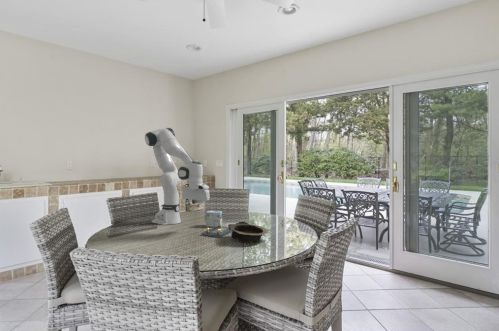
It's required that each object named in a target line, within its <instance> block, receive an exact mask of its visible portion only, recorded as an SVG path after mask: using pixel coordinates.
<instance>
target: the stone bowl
mask: <svg viewBox="0 0 499 331" xmlns="http://www.w3.org/2000/svg"><path fill="white" fill-rule="evenodd" d="M229 224H230V225H229ZM229 224H228V226H227V227H229V228H230V229H231V230H232V231H233V232H231V233H230V235H231V239H236V240H237V241H238V242H240V243H242V244H243V243H246V244H247V243H248V244H249V243H258V242H259V241H260V240H261V238H262V236H263V235H266V234H268V233H269V230H268V229H267V228H265V227H263V226H261V225H257V224H250V223H249V222H245V221H239V222H236V223H229Z"/></svg>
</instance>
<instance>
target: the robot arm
mask: <svg viewBox="0 0 499 331" xmlns="http://www.w3.org/2000/svg"><path fill="white" fill-rule="evenodd" d="M144 141H145V143H146V145H147V146H149V147H152V150H153V154H154V157H155V159H156V162H157V165H158V167H159V169H161V171H162V173H163V174H161V175H160V177H159V183H160V184H161V186H162V191H163V204H161V206H160V207H161V209H160V210H159V211H157V213H155V215H154V219H153V220H151V223H154V224H158V225H164V226H166V225H176V224H180V223H182V220H181V215H180V208H181V204H180V194H179V193H180V192H179V191H178V185H179V184H181V183H182V181H188V185H186V184H184V185H183V186H182V192H181V198H182V199H183V200H187V201H188V204H189V205H192V204H194V203H193V202H192V201H199V202H198V203H199V204H198V207H201V204H203V202H208V201H210V198H211V197H210V190H209V189H210V186H209V185H207V184H206V183H203V174H204V168H203V163H201V162H200V161H194V160H193V158H192V157H191V156H190V154H189V153H188V152H187V151H186V149H185V148H183V147H182V145H181V144H180V143H179V141H178V140H177V138H176V134H175V131H174V129H172V128H171V127H166V128H165V127H164V128H159V129H156V130H153V131H149V132H146V133H145V135H144ZM172 157H175V158H178V159H180V160H181V161H182V162H183V164H184V165H182V166H180V167H179V168H178V167H177V166H176V165H175V163H174V160H173V158H172Z"/></svg>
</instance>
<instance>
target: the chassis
mask: <svg viewBox="0 0 499 331" xmlns="http://www.w3.org/2000/svg"><path fill="white" fill-rule="evenodd" d="M230 224H231V223H229V224H228V225H230ZM232 232H233V231H232V230H231V229H230V228H229V227H228V226H223V225H222V226H221V223H219V226H217V227H211V228H210V227H206V230H205V231H202V232H201V236H205V237H212V238H218V239H219V238H223V237H225V236H227V235H229V234H232Z"/></svg>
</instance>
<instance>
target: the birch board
mask: <svg viewBox="0 0 499 331" xmlns="http://www.w3.org/2000/svg"><path fill="white" fill-rule="evenodd" d="M199 203H200V202H195V203H193V204H192V205H190V204H188V205H186V211H188V212H194V211H198V210H202V209H205V203H202V204H201V207H198V204H199Z"/></svg>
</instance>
